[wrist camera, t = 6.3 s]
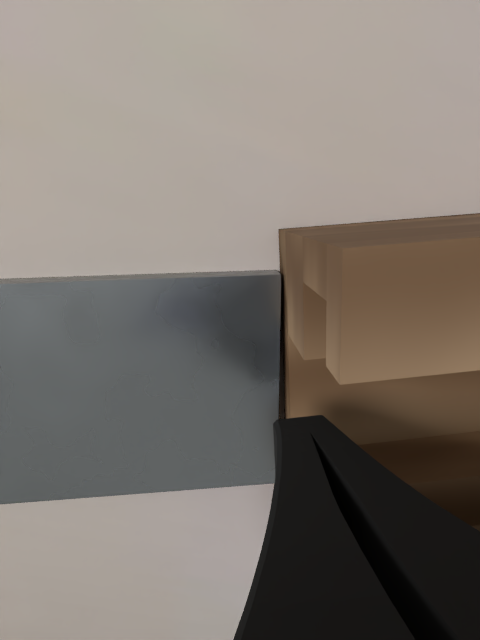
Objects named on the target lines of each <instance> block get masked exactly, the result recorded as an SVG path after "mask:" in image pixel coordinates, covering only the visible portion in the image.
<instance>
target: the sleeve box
mask: <svg viewBox="0 0 480 640" xmlns="http://www.w3.org/2000/svg"><path fill="white" fill-rule="evenodd" d="M279 252H280V274H281V310H282V339H283V368H284V397H285V419H287V418H296V417H306V416H315V415H323V416H324V417H325V418H327V419H328V420H329V421H330V422H331V423H332V424H334V425H335V426H336V427H337V428H338V429H339V430H341V431H342V432H343V433H344V434H345V435H346V436H347V437H349V438H350V439H351V440H352V441H353V442H355V443H356V444H357V445H358V446H359V447H360V448H362V449H363V450H364V451H365V452H366V453H368V454H369V455H370V456H371V457H373V458H374V459H375V460H376V461H378V462H379V463H380V464H381V465H383V466H384V467H385V468H387V469H388V470H389V471H391V472H392V473H393V474H395V475H396V476H397V477H399V478H400V479H401V480H403V481H404V482H406V483H407V484H408V485H410V486H411V487H413V488H414V489H415V490H417V491H418V492H420V493H421V494H422V495H424V496H425V497H427V498H428V499H430V500H431V501H433V502H434V503H436V504H437V505H439V506H440V507H442V508H443V509H445V510H447V511H448V512H450V513H451V514H453V515H454V516H456V517H458V518H459V519H461V520H462V521H464V522H466V523H467V524H469V525H470V526H472V527H474V528H475V529H477V530H479V531H480V213H478V214H465V215H452V216H440V217H427V218H414V219H402V220H389V221H376V222H364V223H351V224H338V225H326V226H313V227H300V228H288V229H279Z"/></svg>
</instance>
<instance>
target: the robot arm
mask: <svg viewBox="0 0 480 640" xmlns="http://www.w3.org/2000/svg"><path fill="white" fill-rule="evenodd" d="M273 435H274V456H275V484H274V491H273V497H272V503H271V509H270V515H269V520H268V524H267V529H266V533H265V538H264V542H263V546H262V550H261V554H260V557H259V561H258V565H257V568H256V572H255V575H254V579H253V582H252V586H251V589H250V592H249V595H248V599H247V602H246V605H245V608H244V611H243V614H242V617H241V620H240V622H239V625H238V628H237V631H236V634H235V637H234V640H480V531H479V530H477V529H475V528H474V527H472V526H470V525H469V524H467V523H466V522H464V521H462V520H461V519H459V518H458V517H456V516H454V515H453V514H451V513H450V512H448V511H447V510H445V509H443V508H442V507H440V506H439V505H437V504H436V503H434V502H433V501H431V500H430V499H428V498H427V497H425V496H424V495H422V494H421V493H420V492H418V491H417V490H415V489H414V488H413V487H411V486H410V485H408V484H407V483H406V482H404V481H403V480H401V479H400V478H399V477H397V476H396V475H395V474H393V473H392V472H391V471H389V470H388V469H387V468H385V467H384V466H383V465H381V464H380V463H379V462H378V461H376V460H375V459H374V458H373V457H371V456H370V455H369V454H368V453H366V452H365V451H364V450H363V449H362V448H360V447H359V446H358V445H357V444H356V443H355V442H353V441H352V440H351V439H350V438H349V437H347V436H346V435H345V434H344V433H343V432H342V431H341V430H339V429H338V428H337V427H336V426H335V425H334V424H332V423H331V422H330V421H329V420H328V419H327V418H325V417H324V416H323V415H315V416H306V417H296V418H287V419H278V420H276V421H275V422H274V423H273Z"/></svg>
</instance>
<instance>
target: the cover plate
mask: <svg viewBox="0 0 480 640" xmlns="http://www.w3.org/2000/svg"><path fill="white" fill-rule="evenodd" d="M280 310H281V274H280V273H279V272H278V271H277V270H258V271H227V272H196V273H166V274H135V275H104V276H73V277H42V278H11V279H0V504H10V503H23V502H36V501H49V500H62V499H75V498H89V497H102V496H115V495H128V494H141V493H154V492H167V491H180V490H193V489H206V488H219V487H232V486H245V485H258V484H271V483H275V456H274V435H273V423H274V422H275V421H276V420H278V418H279V364H280Z"/></svg>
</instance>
